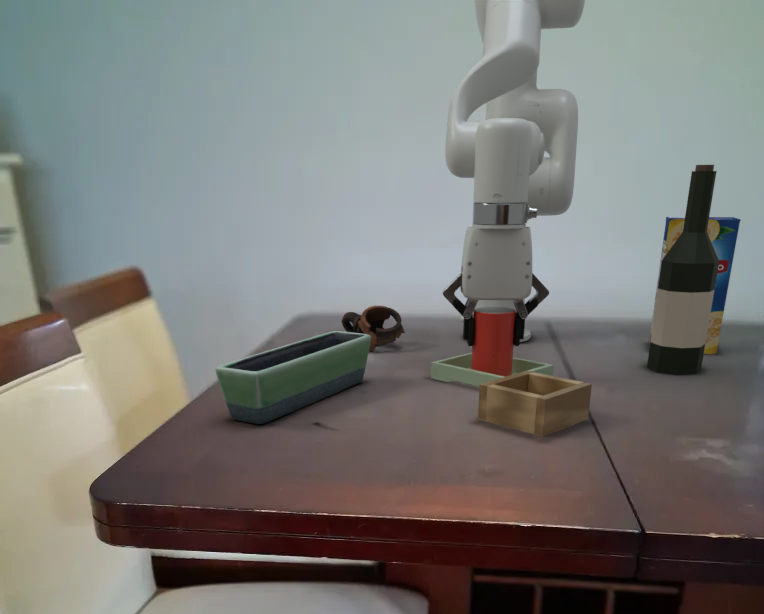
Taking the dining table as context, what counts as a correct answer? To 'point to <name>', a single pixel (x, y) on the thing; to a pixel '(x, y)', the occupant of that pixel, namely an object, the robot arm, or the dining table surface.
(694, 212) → the wine bottle
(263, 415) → the planter
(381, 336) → the pottery mug
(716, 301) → the beverage box
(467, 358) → the tray
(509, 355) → the can
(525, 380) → the box
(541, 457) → the dining table surface
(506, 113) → the robot arm
